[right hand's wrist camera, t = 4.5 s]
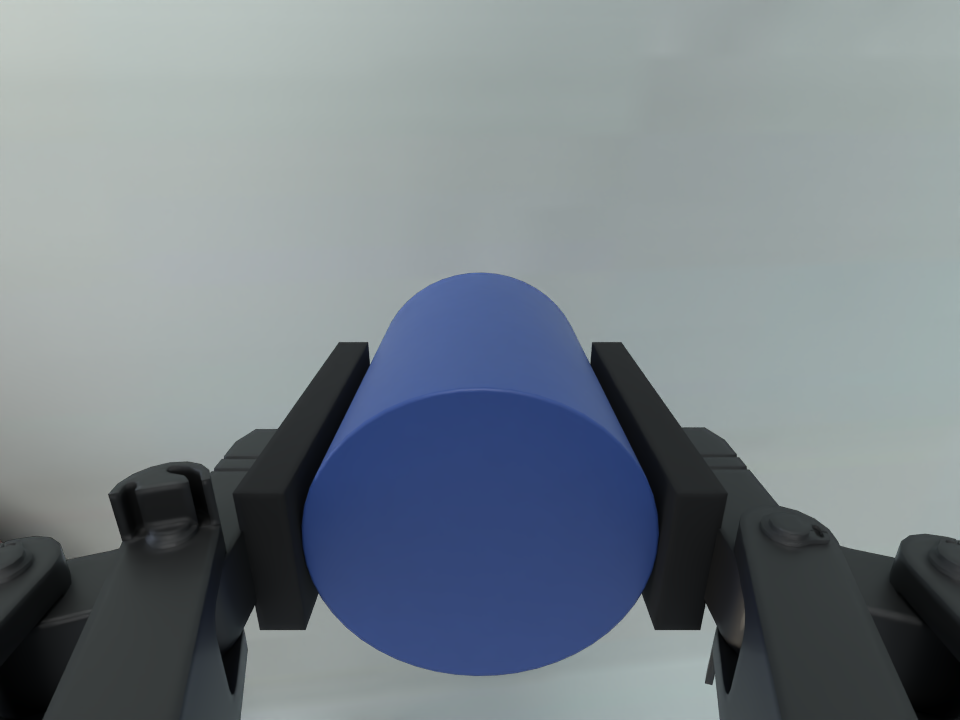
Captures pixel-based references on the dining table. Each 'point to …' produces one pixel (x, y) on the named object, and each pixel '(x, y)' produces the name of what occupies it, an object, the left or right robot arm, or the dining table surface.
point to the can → (480, 490)
